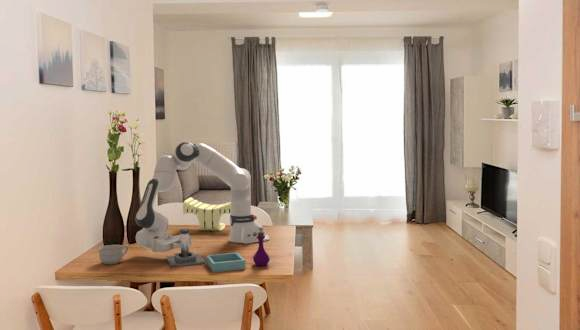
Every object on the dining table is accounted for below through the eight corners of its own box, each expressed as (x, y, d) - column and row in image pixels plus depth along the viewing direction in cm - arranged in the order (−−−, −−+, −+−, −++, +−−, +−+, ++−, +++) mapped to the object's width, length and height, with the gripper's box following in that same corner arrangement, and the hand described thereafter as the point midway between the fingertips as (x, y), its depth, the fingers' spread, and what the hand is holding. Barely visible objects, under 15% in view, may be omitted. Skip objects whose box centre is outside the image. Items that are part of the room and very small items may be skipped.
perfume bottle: (253, 263, 278) (252, 225, 276) (269, 262, 278) (268, 225, 277) (253, 267, 270) (252, 228, 268) (269, 267, 271) (269, 228, 269)
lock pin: (189, 257, 286) (188, 228, 284) (190, 259, 281) (189, 230, 280) (179, 258, 284) (179, 229, 283) (181, 260, 280) (180, 231, 278)
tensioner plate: (198, 255, 293) (198, 249, 293) (205, 263, 278) (204, 257, 278) (166, 258, 288) (165, 252, 287) (170, 267, 273) (170, 260, 272)
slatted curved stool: (183, 231, 348) (182, 201, 347) (191, 225, 364) (190, 197, 362) (233, 232, 345) (233, 201, 343) (239, 226, 361) (238, 197, 359)
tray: (237, 260, 282) (237, 252, 282) (245, 268, 268) (245, 260, 268) (206, 263, 278) (206, 255, 277) (213, 272, 263) (212, 263, 263)
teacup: (101, 267, 274) (100, 250, 273) (97, 261, 283) (96, 245, 282) (131, 263, 280) (131, 246, 279) (126, 258, 290) (126, 242, 289)
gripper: (178, 243, 298) (200, 246, 291) (149, 252, 280) (172, 256, 273) (177, 230, 297) (199, 233, 290) (149, 239, 279) (172, 242, 272)
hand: (186, 244), depth 282 cm, fingers closed on lock pin, 4 cm apart
